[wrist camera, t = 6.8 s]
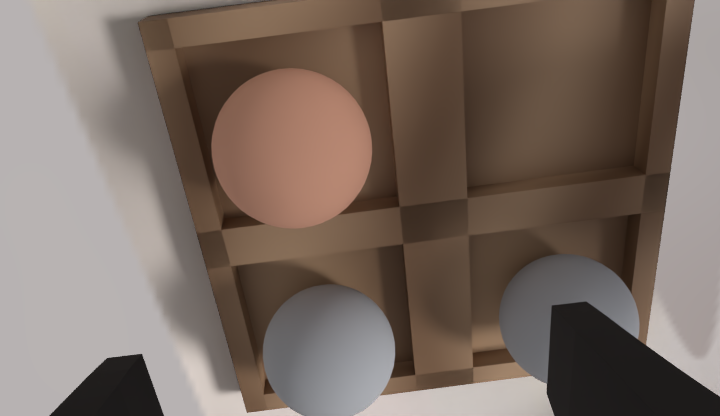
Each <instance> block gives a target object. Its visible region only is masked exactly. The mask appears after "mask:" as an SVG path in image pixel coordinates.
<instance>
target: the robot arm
mask: <svg viewBox="0 0 720 416" xmlns="http://www.w3.org/2000/svg"><path fill="white" fill-rule="evenodd" d="M547 395H548V398H549V401H550V404H551V407H552V410H553V413H554V416H720V397H719V396H718V395H716V394H715V393H713V392H712V391H710V390H709V389H707V388H706V387H704V386H703V385H701V384H700V383H698V382H697V381H696V380H694V379H693V378H691V377H690V376H688V375H687V374H685V373H684V372H683V371H681V370H680V369H678V368H677V367H675V366H674V365H673V364H671V363H670V362H668V361H667V360H666V359H664V358H663V357H661V356H660V355H659V354H657V353H656V352H655V351H653V350H652V349H650V348H649V347H648V346H646V345H645V344H644V343H642V342H641V341H640V340H638V339H637V338H635V337H634V336H633V335H631V334H630V333H629V332H627V331H626V330H625V329H623V328H622V327H621V326H619V325H618V324H617V323H615V322H614V321H613V320H611V319H610V318H609V317H607V316H606V315H605V314H603V313H602V312H601V311H599V310H598V309H596V308H595V307H594V306H592V305H591V304H589V303H588V302H587V301H585V302H576V303H568V304H560V305H552V307H551V325H550V343H549V360H548V378H547ZM50 416H164V415H163V412H162V409H161V406H160V403H159V401H158V398H157V395H156V392H155V389H154V387H153V384H152V381H151V379H150V376H149V373H148V370H147V367H146V364H145V361H144V359H143V356H142V354H137V355H129V356H122V357H112V358H107V359H106V360H105V361H104V362H103V363H102V364H101V365H99V366H98V368H96V369H95V370H94V372H92V373H91V374H90V375H89V376H88V377H87V378H86V379H85V380H84V381H83V382H82V383H81V384H80V385H79V386H78V387H77V388H76V389H75V390H74V391H73V392H72V393H71V394H70V395H69V396H68V397H67V398H66V399H65V401H63V403H61V404H60V405H59V407H58V408H57V409H56V410H55V411H54V412H53V413H52V414H51V415H50Z"/></svg>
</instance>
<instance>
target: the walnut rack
mask: <svg viewBox="0 0 720 416" xmlns="http://www.w3.org/2000/svg"><path fill="white" fill-rule="evenodd" d="M694 1H695V0H270V1H262V2H254V3H247V4H239V5H231V6H223V7H216V8H208V9H200V10H192V11H185V12H177V13H169V14H161V15H154V16H148V17H146V18H144V19H143V20H141V21H139V22H138V25H139V29H140V33H141V36H142V40H143V43H144V47H145V50H146V54H147V58H148V61H149V65H150V68H151V72H152V75H153V79H154V83H155V86H156V90H157V93H158V97H159V100H160V104H161V107H162V111H163V115H164V118H165V122H166V125H167V129H168V132H169V136H170V140H171V143H172V147H173V150H174V154H175V157H176V161H177V165H178V168H179V172H180V175H181V179H182V182H183V186H184V190H185V193H186V197H187V200H188V204H189V207H190V211H191V215H192V218H193V222H194V225H195V229H196V232H197V236H198V240H199V243H200V247H201V250H202V254H203V257H204V261H205V265H206V268H207V272H208V275H209V279H210V282H211V286H212V290H213V293H214V297H215V300H216V304H217V307H218V311H219V315H220V318H221V322H222V325H223V329H224V332H225V336H226V340H227V343H228V347H229V350H230V354H231V357H232V361H233V364H234V368H235V372H236V375H237V379H238V382H239V386H240V389H241V393H242V397H243V400H244V404H245V407H246V411H247V413H248V412H256V411H264V410H272V409H279V408H287V407H288V406H287V405H286V404H285V403H284V402H283V401H282V400H281V399H280V398H279V397H278V396H277V394H276V393H275V392H274V390H273V389H272V387H271V385H270V383H269V381H268V378H267V375H266V372H265V368H264V362H263V344H264V338H265V334H266V331H267V328H268V326H269V323H270V321H271V320H272V318H273V316H274V314H275V313H276V312H277V310H278V309H279V308H280V307H281V306H282V305H283V304H284V303H285V302H286V301H287V300H288V299H289V298H291V297H292V296H293V295H295V294H297V293H298V292H300V291H302V290H304V289H307V288H310V287H313V286H318V285H326V284H335V285H342V286H346V287H350V288H353V289H355V290H358V291H359V292H361V293H363V294H365V295H366V296H367V297H369V298H370V299H371V300H373V301H374V302H375V303H376V304H377V305H378V307H379V308H380V309H381V310H382V312H383V313H384V315H385V316H386V318H387V320H388V322H389V324H390V326H391V329H392V332H393V336H394V341H395V360H394V367H393V370H392V374H391V377H390V379H389V381H388V383H387V385H386V387H385V389H384V390H383V392H382V393H381V395H388V394H395V393H403V392H411V391H419V390H426V389H434V388H442V387H449V386H457V385H465V384H473V383H480V382H488V381H496V380H504V379H511V378H519V377H527V376H531V375H530V374H529V373H527V372H526V371H525V370H524V369H522V368H521V367H520V366H519V365H518V364H517V362H516V361H515V360H514V359H513V357H512V356H511V354H510V353H509V351H508V349H507V348H506V345H505V343H504V341H503V338H502V335H501V331H500V324H499V310H500V303H501V299H502V296H503V294H504V291H505V289H506V287H507V285H508V284H509V282H510V281H511V280H512V278H513V277H514V276H515V275H516V274H517V273H518V272H519V271H520V270H521V269H522V268H523V267H525V266H526V265H528V264H529V263H531V262H533V261H535V260H537V259H540V258H542V257H546V256H550V255H556V254H573V255H579V256H584V257H587V258H590V259H593V260H595V261H597V262H599V263H601V264H603V265H604V266H606V267H607V268H609V269H610V270H612V271H613V272H614V273H615V274H616V275H617V276H618V277H619V278H620V279H621V280H622V281H623V282H624V283H625V285H626V286H627V288H628V289H629V291H630V292H631V294H632V296H633V298H634V301H635V303H636V306H637V310H638V315H639V336H638V340H640V341H641V342H642V343H644V344H645V345H646V340H647V333H648V326H649V319H650V311H651V304H652V297H653V290H654V283H655V276H656V269H657V262H658V255H659V248H660V241H661V234H662V227H663V220H664V213H665V206H666V198H667V192H668V185H669V178H670V170H671V163H672V156H673V149H674V141H675V135H676V128H677V121H678V113H679V106H680V100H681V92H682V85H683V79H684V71H685V64H686V57H687V50H688V44H689V36H690V29H691V22H692V15H693V8H694ZM284 68H298V69H305V70H310V71H314V72H317V73H320V74H322V75H324V76H326V77H328V78H330V79H332V80H334V81H335V82H337V83H338V84H340V85H341V86H342V87H343V88H344V89H346V90H347V91H348V92H349V93H350V94H351V95H352V97H353V98H354V99H355V100H356V102H357V103H358V105H359V106H360V108H361V109H362V111H363V113H364V115H365V117H366V119H367V122H368V125H369V128H370V133H371V139H372V160H371V165H370V169H369V173H368V176H367V179H366V181H365V184H364V185H363V187H362V189H361V191H360V192H359V194H358V195H357V196H356V198H355V199H354V200H353V202H352V203H351V204H350V205H349V206H348V207H347V208H346V209H345V210H343V211H342V212H341V213H340V214H338V215H337V216H335V217H333V218H332V219H330V220H328V221H325V222H323V223H321V224H318V225H314V226H311V227H306V228H296V229H290V228H280V227H275V226H271V225H267V224H265V223H262V222H260V221H258V220H256V219H254V218H252V217H250V216H249V215H247V214H246V213H244V212H243V211H242V210H240V209H239V208H238V207H237V206H236V205H235V204H234V203H233V202H232V201H231V199H230V198H229V197H228V196H227V194H226V193H225V191H224V190H223V188H222V186H221V184H220V182H219V180H218V178H217V176H216V172H215V169H214V165H213V159H212V148H211V143H212V134H213V130H214V126H215V122H216V119H217V117H218V115H219V112H220V110H221V109H222V107H223V105H224V104H225V102H226V101H227V100H228V98H229V97H230V96H231V95H232V94H233V92H234V91H236V90H237V89H238V88H239V87H240V86H241V85H242V84H244V83H245V82H247V81H248V80H250V79H252V78H253V77H255V76H257V75H260V74H263V73H265V72H268V71H272V70H277V69H284Z"/></svg>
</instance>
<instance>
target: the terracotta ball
mask: <svg viewBox="0 0 720 416" xmlns="http://www.w3.org/2000/svg"><path fill="white" fill-rule="evenodd" d="M211 148H212V159H213V165H214V169H215V172H216V176H217V178H218V180H219V182H220V184H221V186H222V188H223V190H224V191H225V193H226V194H227V196H228V197H229V198H230V199H231V201H232V202H233V203H234V204H235V205H236V206H237V207H238V208H239V209H240V210H242V211H243V212H244V213H246V214H247V215H249V216H250V217H252V218H254V219H256V220H258V221H260V222H262V223H265V224H267V225H271V226H275V227H280V228H290V229H296V228H306V227H311V226H314V225H318V224H321V223H323V222H325V221H328V220H330V219H332V218H333V217H335V216H337V215H338V214H340V213H341V212H342V211H343V210H345V209H346V208H347V207H348V206H349V205H350V204H351V203H352V202H353V200H354V199H355V198H356V196H357V195H358V194H359V192H360V191H361V189H362V187H363V185H364V184H365V181H366V179H367V176H368V173H369V169H370V165H371V160H372V139H371V133H370V128H369V125H368V122H367V119H366V117H365V115H364V113H363V111H362V109H361V108H360V106H359V105H358V103H357V102H356V100H355V99H354V98H353V97H352V95H351V94H350V93H349V92H348V91H347V90H346V89H344V88H343V87H342V86H341V85H340V84H338V83H337V82H335V81H334V80H332V79H330V78H328V77H326V76H324V75H322V74H320V73H317V72H314V71H310V70H305V69H298V68H284V69H277V70H272V71H268V72H265V73H263V74H260V75H257V76H255V77H253V78H252V79H250V80H248V81H247V82H245V83H244V84H242V85H241V86H240V87H239V88H238V89H237V90H236V91H234V92H233V94H232V95H231V96H230V97H229V98H228V100H227V101H226V102H225V104H224V105H223V107H222V109H221V110H220V112H219V115H218V117H217V119H216V122H215V126H214V130H213V134H212V143H211Z"/></svg>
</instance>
